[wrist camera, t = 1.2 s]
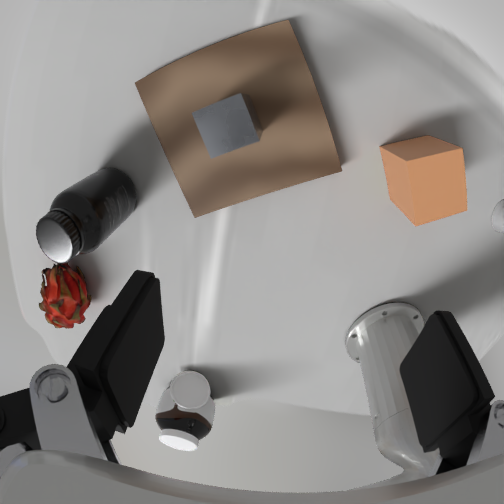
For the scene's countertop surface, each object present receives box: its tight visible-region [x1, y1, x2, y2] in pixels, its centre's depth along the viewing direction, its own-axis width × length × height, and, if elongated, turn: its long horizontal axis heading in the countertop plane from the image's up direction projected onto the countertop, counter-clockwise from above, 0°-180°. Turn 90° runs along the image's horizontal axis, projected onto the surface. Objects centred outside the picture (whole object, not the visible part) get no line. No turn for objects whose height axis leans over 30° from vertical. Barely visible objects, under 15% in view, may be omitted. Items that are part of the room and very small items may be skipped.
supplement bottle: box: [36, 168, 136, 264], centre depth 26 cm, size 7×7×12 cm
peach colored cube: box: [379, 135, 467, 226], centre depth 24 cm, size 6×6×7 cm
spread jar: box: [156, 371, 215, 451], centre depth 45 cm, size 12×11×12 cm
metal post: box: [192, 93, 263, 159], centre depth 22 cm, size 4×4×7 cm
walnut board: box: [135, 20, 342, 218], centre depth 26 cm, size 16×16×2 cm
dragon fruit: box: [39, 262, 91, 328], centre depth 36 cm, size 8×8×12 cm
